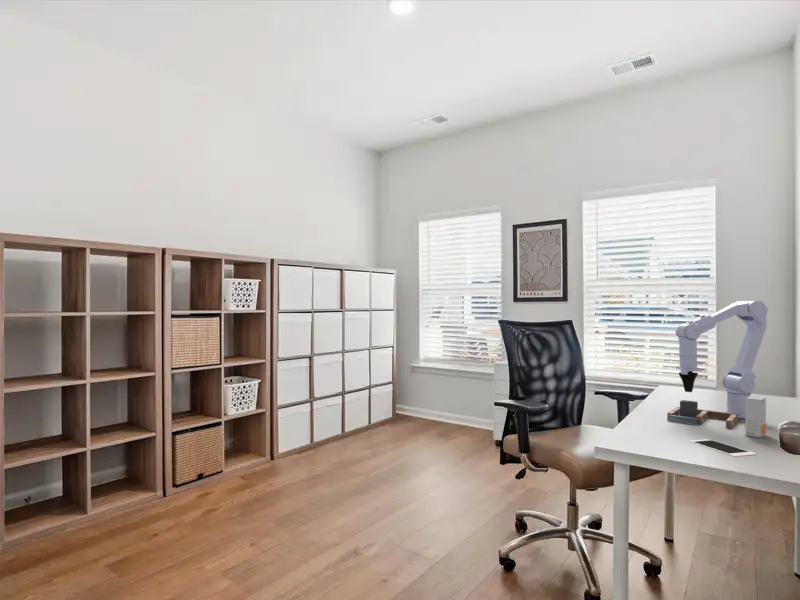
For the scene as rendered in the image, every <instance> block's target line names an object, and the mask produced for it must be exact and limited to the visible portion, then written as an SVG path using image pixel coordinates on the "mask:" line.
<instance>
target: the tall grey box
mask: <svg viewBox="0 0 800 600" xmlns="http://www.w3.org/2000/svg"><path fill="white" fill-rule="evenodd" d="M698 404H699V403H698V401H693V400H685V399H681V400H680V401H679V407H680V416H683V417H691V418H696V416H697V415H698V409H699V408H698Z"/></svg>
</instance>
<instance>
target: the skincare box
mask: <svg viewBox="0 0 800 600" xmlns="http://www.w3.org/2000/svg"><path fill="white" fill-rule="evenodd" d="M766 402H767V399H766V397H761V396H753V395H750V397H748V398H745V419H744V420H745V421H744V425H745V426H744V427H745V429H744V430H745V431H744V433H745V434H744V435H745V436H748V437H749V436H750V437H755V438H762V437H764V436H766V435H767V419H766V418H767V412H766V411H767V408H766V407H767V403H766Z"/></svg>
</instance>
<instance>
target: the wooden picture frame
mask: <svg viewBox="0 0 800 600" xmlns="http://www.w3.org/2000/svg"><path fill="white" fill-rule="evenodd" d="M666 414H667V421H668V422H673V423H682V424H689V425H695V426H697V425H702V424H703V423H704V422H705V421H706V420H707V419H715V420H723V421H725V428H726V429H733V427H734V426H735V425H736V423H738V421H739V418H738V414H736V413H727V411H726V412H725V411H717V410H708V409H699V408H698V415H697V416H696V418H691V417H683V416H680V406H676V407H675V408H673V409H671V410H670V411H669V412H667V413H666Z"/></svg>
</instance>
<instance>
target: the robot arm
mask: <svg viewBox="0 0 800 600" xmlns="http://www.w3.org/2000/svg"><path fill="white" fill-rule="evenodd" d="M768 312H769V308H768V307H767V306H766V304H765V303H764V302H763V301H762V300H756V299H755V300H738V301H736V302H733V303H730V305H728V306H726V307H723V308H722V309H720V310H719V311H716V312H715V313H713V314H706V313H705V314H702V313H701V314H700V315H699V316H698V317H697V318H695V319H692V320H691V319H690V320H688V322H687V323H681V324H679V326H678V327H677V329H676V330H675V335H676V336H677V338H678V343H679V346H678V347H679V348H678V352H679V354H678V355H679V366H675V368H676V369H678V370H680V372H678V375H679V377H680V379H681V381H682V385H683V389H684V392H685V393H692V392H693V389H694V384H695V381H696V379H697V377H698V374H699V373H698V372H696V371H698V369H699V368H698V339H699V338H700V336H701V335H702V334H705V333H706V332H708V331H710V330H712V329H714V328H715V327H716V326H717V323H719V322H723V321H725V320H728V319H729V318H732V317H734V316H736V317H737V318H739V320H741V321H742V322H744V324H745V325H746V331H745V334H744V338H743V340H742V344H741V346H740V349H739V351H738V353H737V357H736V361H735V363H734V365H732V367H730V368H728V370H727V373H726V374H725V375H724V376H723V377H722V381H721V383H722V385H723V388H725V391H726V406H727V407H726V408H727V409H726V412H727V413H736V414H738V419H744V420H745V398H748V397H751V395H752V392H753V391H754V390H755V388H756V381H755V380H756V378H757V376H756V374H755V373H754V372H753V371H752V370H753V368H754V365H755V362H756V358H757V356H758V352H759V350H760V346H761V344H762V341H763V338H764V335H765V333H766V329H767V326H768V325H767V315H768Z"/></svg>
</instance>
